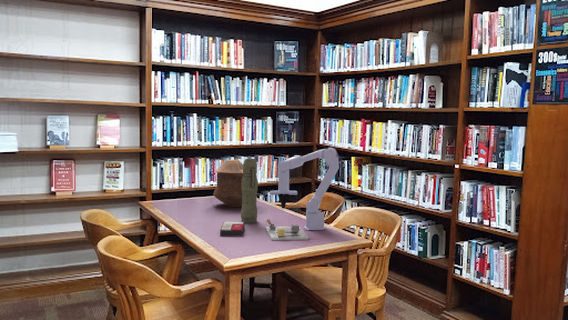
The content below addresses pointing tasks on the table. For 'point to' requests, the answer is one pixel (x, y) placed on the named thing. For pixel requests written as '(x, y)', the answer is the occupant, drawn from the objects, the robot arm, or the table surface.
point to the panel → (286, 233)
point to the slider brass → (281, 232)
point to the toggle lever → (269, 222)
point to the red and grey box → (232, 229)
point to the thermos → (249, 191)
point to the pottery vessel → (229, 183)
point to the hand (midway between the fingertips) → (283, 208)
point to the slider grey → (294, 228)
